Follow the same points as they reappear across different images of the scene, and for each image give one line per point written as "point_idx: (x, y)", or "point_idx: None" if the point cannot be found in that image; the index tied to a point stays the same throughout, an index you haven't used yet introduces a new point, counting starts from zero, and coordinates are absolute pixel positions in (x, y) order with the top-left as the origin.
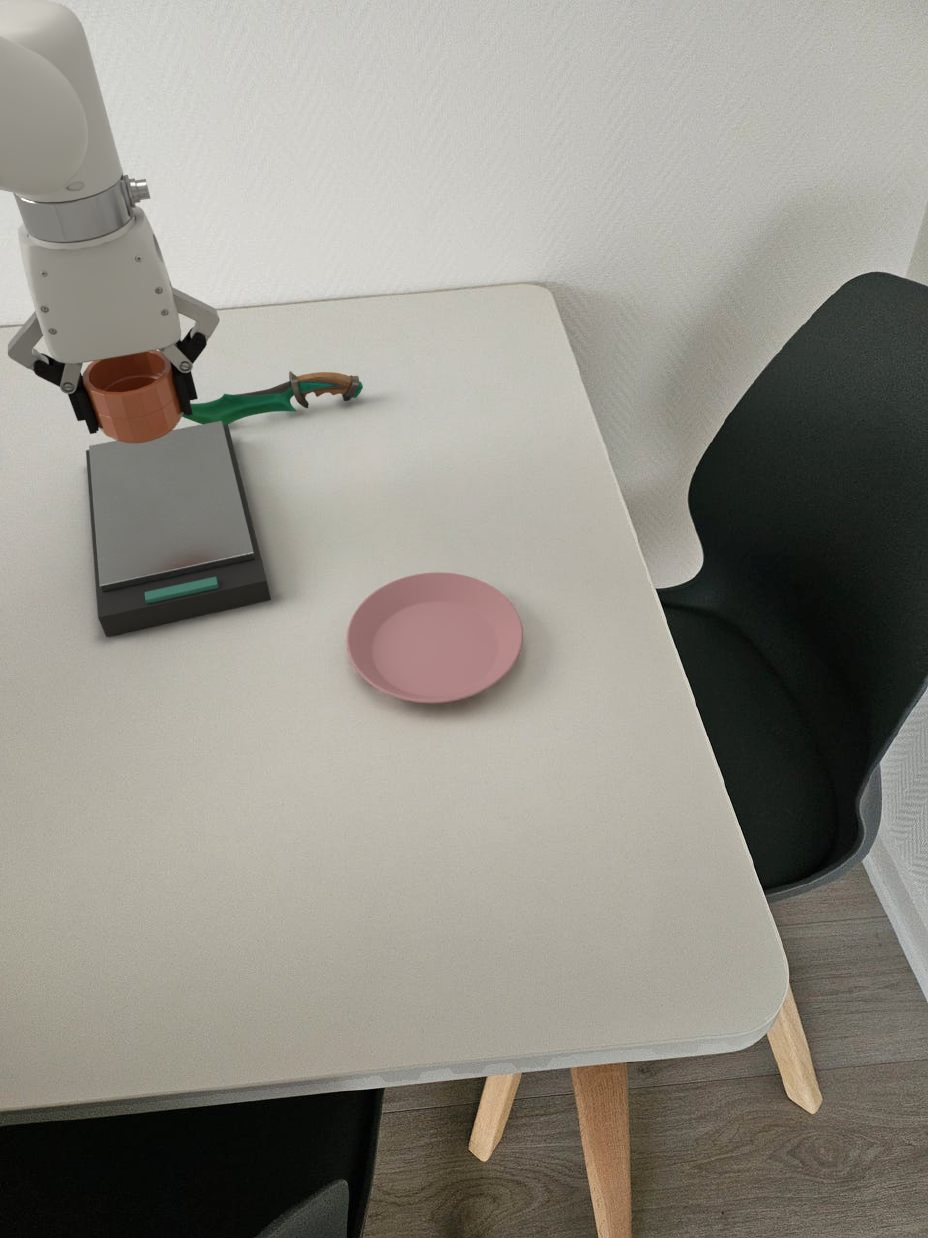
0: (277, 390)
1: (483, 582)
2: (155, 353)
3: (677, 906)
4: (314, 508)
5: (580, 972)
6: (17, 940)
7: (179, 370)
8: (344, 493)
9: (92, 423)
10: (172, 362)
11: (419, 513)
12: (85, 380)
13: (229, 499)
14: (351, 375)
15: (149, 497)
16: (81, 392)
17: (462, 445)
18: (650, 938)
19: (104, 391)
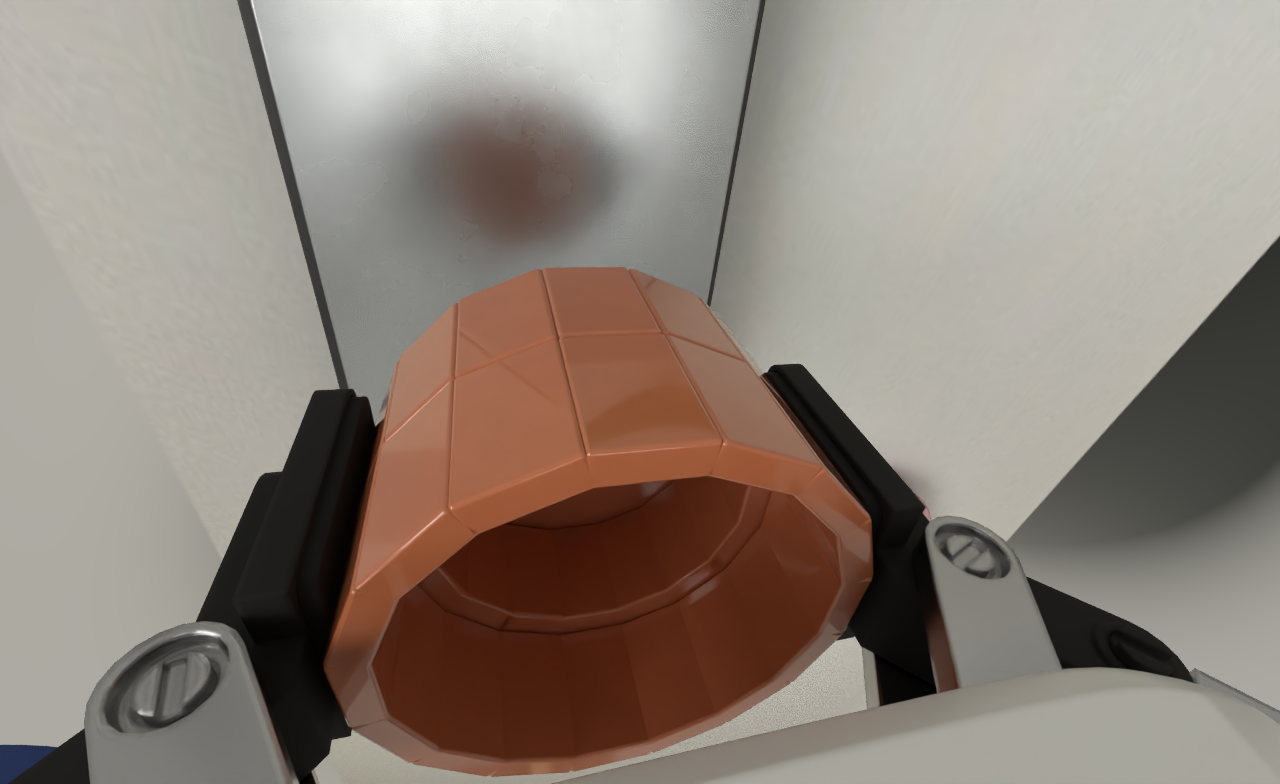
0: None
1: (927, 510)
2: (832, 531)
3: (821, 708)
4: (824, 246)
5: (745, 735)
6: (335, 754)
7: (862, 650)
8: (896, 218)
9: None
10: (870, 701)
11: (960, 318)
12: (360, 710)
13: (685, 282)
14: None
15: (482, 206)
16: (344, 734)
17: (1164, 142)
18: (794, 721)
19: (489, 765)
